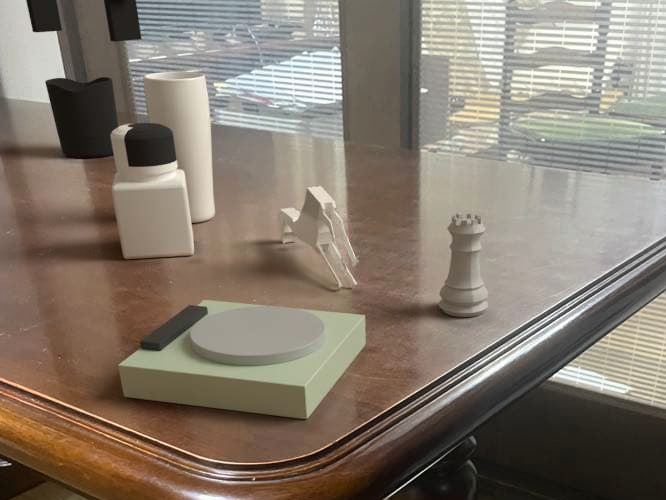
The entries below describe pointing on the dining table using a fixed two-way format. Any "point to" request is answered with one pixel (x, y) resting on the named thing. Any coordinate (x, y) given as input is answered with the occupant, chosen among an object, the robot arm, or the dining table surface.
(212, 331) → the scale
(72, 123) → the pen holder
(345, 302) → the dining table surface
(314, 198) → the white angular pronged piece
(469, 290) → the rook chess piece
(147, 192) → the medicine bottle
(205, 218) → the drinking glass
